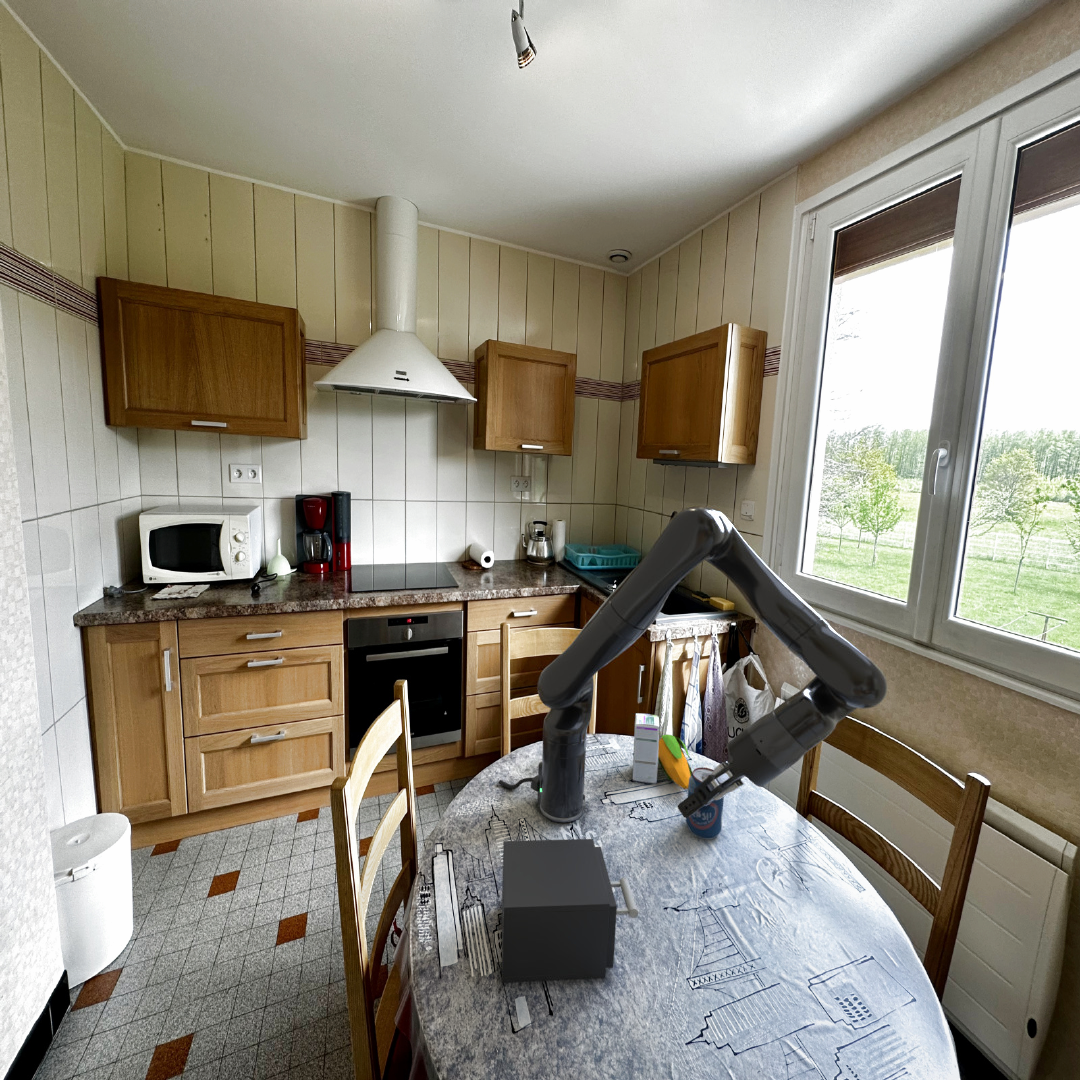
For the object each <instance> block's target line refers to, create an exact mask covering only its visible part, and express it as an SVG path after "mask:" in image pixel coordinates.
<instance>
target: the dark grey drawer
mask: <svg viewBox="0 0 1080 1080" xmlns="http://www.w3.org/2000/svg"><path fill="white" fill-rule="evenodd" d="M595 848H596V852H597V856H598V860H599V864H600V868H601V872H602V876H603V879H604V883H605V887H606V891H607V895H608V899H609V903H610V908H609V925H608V943H607V960H606V969H613V968H614V962H615V942H616V929H617V928H616V927H617V916H618V915H620V916H621V915H628V916H629V917H630V918H631V919H635V918H637V917H638V916H639V909H638V907H637V904H636V899H635V897H634V894H633V891H632V887H631V884H630V881H629V879H628V878H627V877H622V878H620V879H619V880H617V881H616V880H615V881H614V880H613V881H611V880H610V876H609V872H608V869H607V865H606V860H605V857H604V853H603V850H602V847H601V846H595ZM613 888H620V889H621V893H622V896H623V900H624V904H625V907H618V906H617V905H618V904H617V901H616V897H615V894H614V891H613Z"/></svg>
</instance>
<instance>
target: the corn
mask: <svg viewBox="0 0 1080 1080" xmlns="http://www.w3.org/2000/svg"><path fill="white" fill-rule="evenodd" d="M683 749H684V750H683ZM688 750H689V749H688V748H687V746H686V744H685V743H684V742H683V741H682V739H681V738H680V737H679V736H676V735H672V734H667V733H666V734H663V735H661V737H660V738H659V749H658V765H659V766H660V768H661V770H662V772H663V773H664V775H665V777H666V778H667V779H668V781H671V782H674V784H676V785H677V786H679V787H680V788H682V789H683V790H688V786H689V778H690V776H691V775H692V773H693V770H692V768H691V766H690V764H689V762H688V760H687V758H686V756H687V757H688V758H689V760H690V756H689V751H688ZM684 751H685V753H686V755H685V753H684Z"/></svg>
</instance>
